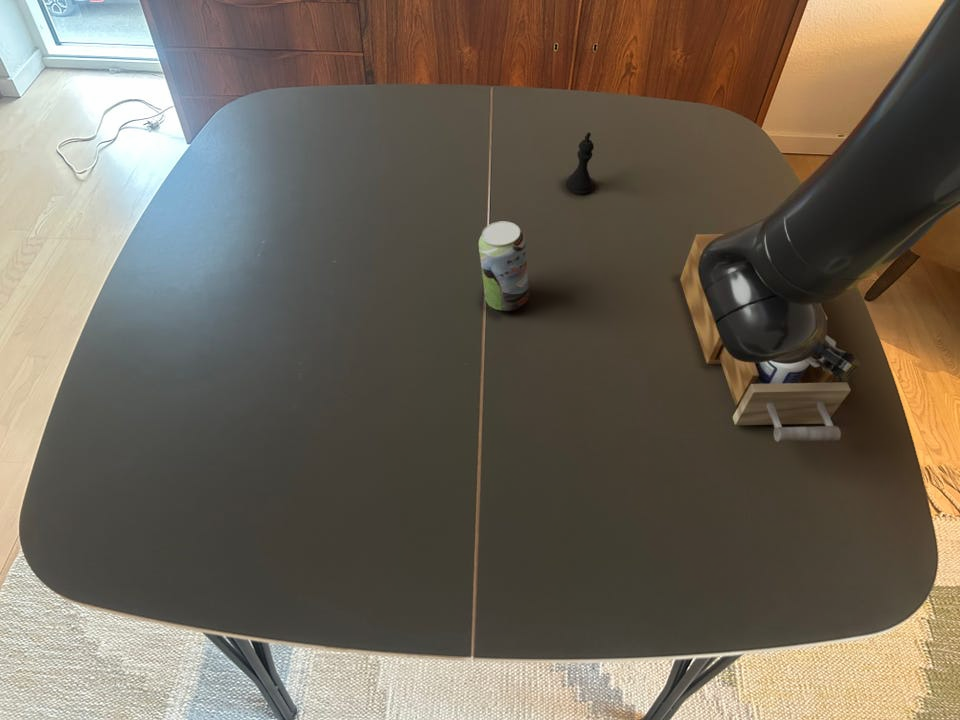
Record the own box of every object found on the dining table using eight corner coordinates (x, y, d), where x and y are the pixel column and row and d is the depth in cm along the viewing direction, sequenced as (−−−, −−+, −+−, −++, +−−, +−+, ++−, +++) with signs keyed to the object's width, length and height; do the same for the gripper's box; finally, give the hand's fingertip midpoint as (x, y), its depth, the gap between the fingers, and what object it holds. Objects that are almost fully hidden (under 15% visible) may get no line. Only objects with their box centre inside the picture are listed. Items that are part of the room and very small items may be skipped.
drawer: (841, 459, 83) (868, 427, 78) (746, 461, 82) (767, 429, 77) (788, 333, 95) (808, 298, 90) (705, 334, 95) (720, 299, 89)
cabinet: (800, 362, 93) (827, 318, 87) (706, 364, 93) (727, 320, 86) (764, 278, 103) (787, 233, 96) (679, 279, 102) (696, 234, 96)
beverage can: (520, 322, 96) (528, 256, 87) (469, 308, 97) (472, 241, 88) (533, 290, 100) (542, 224, 90) (484, 277, 101) (487, 211, 92)
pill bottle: (793, 375, 89) (822, 328, 83) (789, 406, 86) (819, 360, 79) (751, 362, 90) (776, 315, 84) (745, 393, 87) (771, 346, 80)
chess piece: (560, 188, 115) (569, 134, 107) (573, 175, 117) (582, 121, 109) (585, 198, 113) (595, 144, 105) (597, 184, 116) (608, 130, 108)
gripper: (875, 331, 65) (876, 349, 79) (744, 252, 72) (767, 281, 86) (821, 396, 67) (832, 402, 81) (698, 313, 73) (728, 332, 87)
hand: (799, 340), depth 83 cm, fingers open, 8 cm apart
